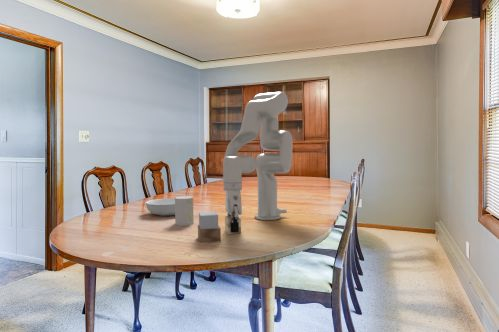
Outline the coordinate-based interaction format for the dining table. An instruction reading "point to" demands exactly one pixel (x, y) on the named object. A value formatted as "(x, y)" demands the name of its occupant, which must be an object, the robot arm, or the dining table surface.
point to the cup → (184, 210)
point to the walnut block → (209, 235)
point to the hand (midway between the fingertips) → (232, 229)
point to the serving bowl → (161, 206)
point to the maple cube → (228, 224)
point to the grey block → (208, 220)
